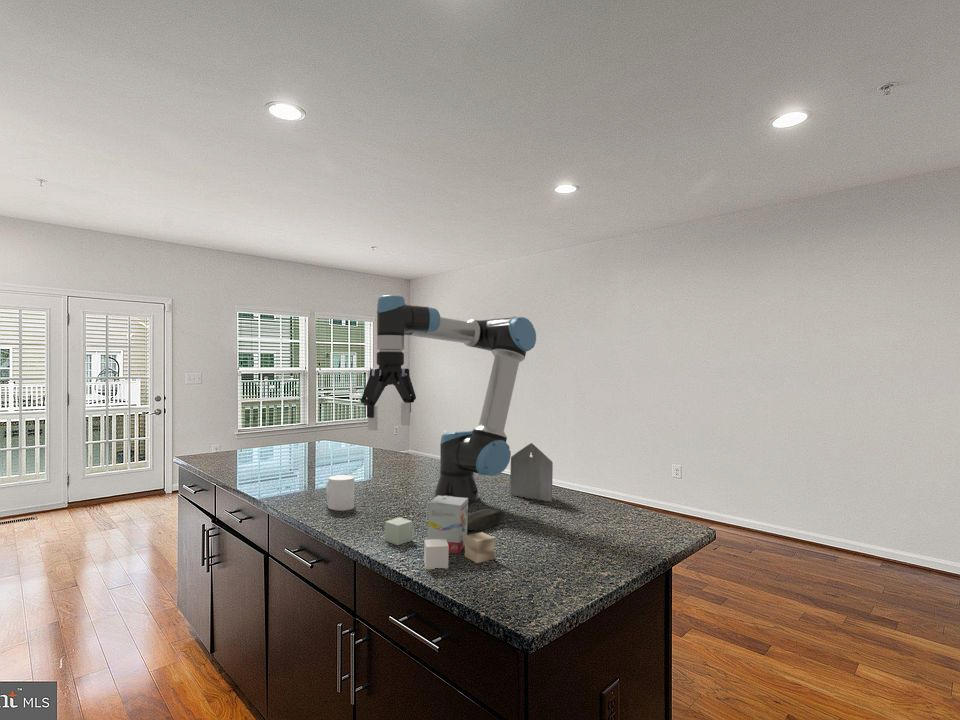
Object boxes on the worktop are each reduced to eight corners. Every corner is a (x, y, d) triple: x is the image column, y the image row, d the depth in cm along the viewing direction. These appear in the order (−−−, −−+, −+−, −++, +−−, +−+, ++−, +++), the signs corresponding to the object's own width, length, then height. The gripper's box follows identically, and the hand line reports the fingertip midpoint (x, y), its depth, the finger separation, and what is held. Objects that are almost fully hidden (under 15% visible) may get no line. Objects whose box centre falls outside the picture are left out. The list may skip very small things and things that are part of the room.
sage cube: (399, 536, 134) (399, 517, 134) (412, 540, 131) (412, 521, 131) (384, 541, 130) (385, 521, 131) (397, 545, 127) (398, 525, 127)
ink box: (460, 554, 122) (461, 504, 122) (426, 550, 124) (427, 502, 124) (468, 542, 131) (469, 496, 131) (436, 539, 132) (437, 493, 133)
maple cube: (481, 552, 123) (482, 532, 124) (494, 559, 119) (494, 537, 120) (464, 556, 120) (465, 535, 121) (476, 563, 116) (477, 541, 117)
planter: (560, 497, 179) (561, 442, 180) (551, 502, 173) (552, 445, 173) (520, 491, 188) (520, 438, 188) (509, 495, 181) (510, 441, 182)
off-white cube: (445, 560, 118) (445, 538, 118) (448, 568, 113) (448, 546, 113) (423, 561, 117) (424, 539, 117) (425, 569, 112) (426, 547, 112)
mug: (360, 477, 162) (339, 481, 156) (360, 507, 162) (338, 512, 155) (339, 472, 170) (317, 475, 163) (338, 500, 169) (317, 505, 163)
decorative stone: (465, 535, 136) (465, 520, 137) (449, 530, 141) (450, 515, 141) (509, 523, 148) (509, 509, 148) (493, 518, 153) (493, 504, 153)
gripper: (408, 352, 154) (407, 422, 154) (347, 350, 133) (346, 431, 132) (428, 352, 150) (427, 424, 150) (368, 349, 129) (367, 433, 129)
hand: (389, 427), depth 141 cm, fingers open, 13 cm apart
